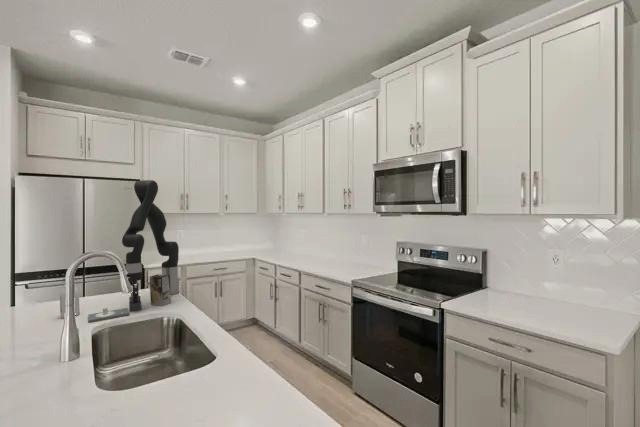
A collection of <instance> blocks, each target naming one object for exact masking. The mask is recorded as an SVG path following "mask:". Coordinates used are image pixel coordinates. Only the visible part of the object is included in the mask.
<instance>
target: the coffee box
mask: <svg viewBox="0 0 640 427" xmlns="http://www.w3.org/2000/svg"><path fill="white" fill-rule="evenodd" d="M149 290H150V291H149V293H150V294H149V296H150V305H151V306H162V307H163V306H166V305H168V304H170V303H172V302H171V299H172V298H171V297H172V295H170V275H162V274H154V275H152V276H149Z"/></svg>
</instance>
